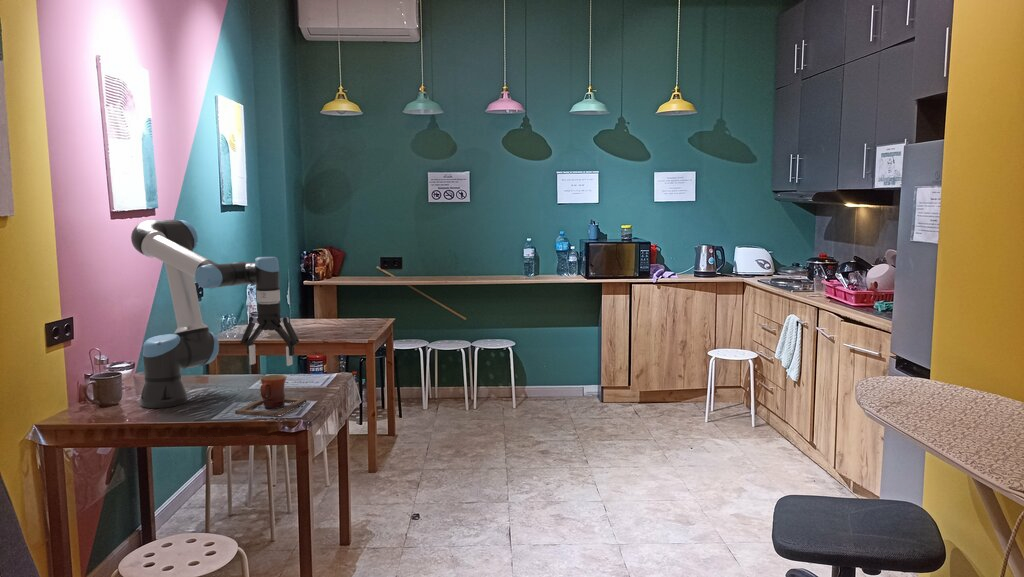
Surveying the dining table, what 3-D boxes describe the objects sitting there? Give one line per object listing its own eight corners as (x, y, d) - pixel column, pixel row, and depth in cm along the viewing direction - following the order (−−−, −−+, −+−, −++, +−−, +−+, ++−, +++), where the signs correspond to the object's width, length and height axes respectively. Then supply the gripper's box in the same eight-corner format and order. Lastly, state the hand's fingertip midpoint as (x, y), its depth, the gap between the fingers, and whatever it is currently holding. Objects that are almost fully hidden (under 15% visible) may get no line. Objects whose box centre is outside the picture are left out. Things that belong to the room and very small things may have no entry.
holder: (235, 413, 250) (235, 410, 250) (264, 399, 269) (264, 396, 269) (279, 416, 247) (279, 413, 247) (306, 401, 266) (306, 399, 266)
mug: (269, 402, 265) (268, 374, 264) (292, 404, 263) (291, 375, 262) (250, 411, 253) (249, 381, 252) (274, 413, 251) (273, 382, 250)
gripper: (228, 303, 253) (231, 365, 255) (297, 304, 248) (300, 367, 250) (240, 300, 260) (243, 361, 262) (308, 301, 256) (310, 363, 258)
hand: (271, 364), depth 256 cm, fingers open, 13 cm apart
